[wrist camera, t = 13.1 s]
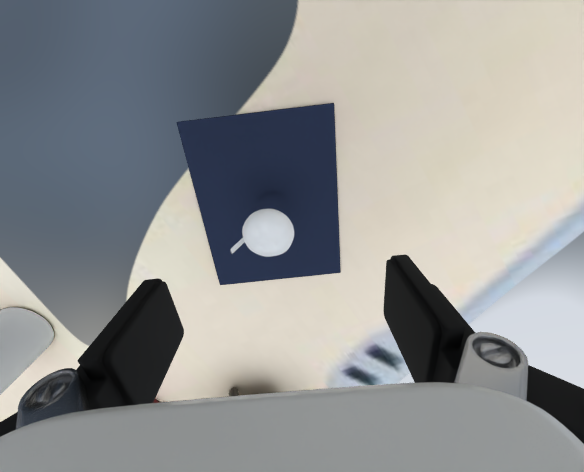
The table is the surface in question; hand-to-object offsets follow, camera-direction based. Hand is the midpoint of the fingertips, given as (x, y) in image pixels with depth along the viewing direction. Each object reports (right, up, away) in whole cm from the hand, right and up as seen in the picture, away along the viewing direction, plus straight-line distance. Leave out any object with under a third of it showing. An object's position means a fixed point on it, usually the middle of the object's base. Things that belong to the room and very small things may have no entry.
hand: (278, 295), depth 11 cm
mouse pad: (-2, +6, +20) cm, 21 cm away
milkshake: (-2, +6, +20) cm, 21 cm away
